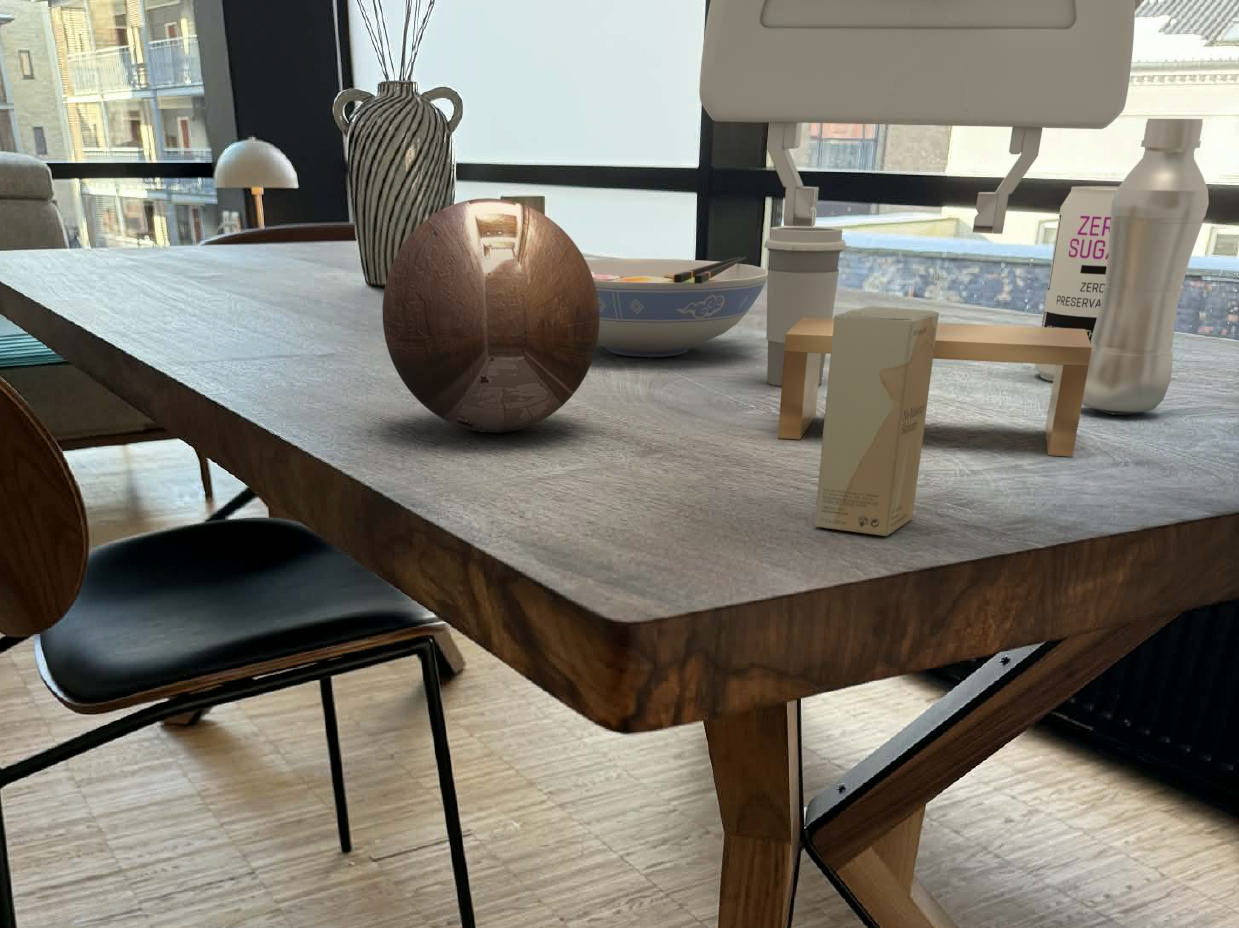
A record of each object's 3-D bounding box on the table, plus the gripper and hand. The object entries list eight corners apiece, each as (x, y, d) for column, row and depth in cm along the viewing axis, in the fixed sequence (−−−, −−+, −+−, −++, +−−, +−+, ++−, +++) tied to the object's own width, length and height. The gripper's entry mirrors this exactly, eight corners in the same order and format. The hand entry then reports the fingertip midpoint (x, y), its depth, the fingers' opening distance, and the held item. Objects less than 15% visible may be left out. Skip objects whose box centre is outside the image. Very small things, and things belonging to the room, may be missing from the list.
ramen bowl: (576, 329, 144) (576, 245, 140) (788, 340, 138) (794, 252, 134) (489, 364, 123) (487, 266, 119) (734, 379, 117) (740, 277, 113)
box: (886, 539, 73) (912, 319, 67) (810, 528, 75) (830, 313, 69) (915, 517, 77) (941, 308, 71) (843, 508, 79) (863, 303, 73)
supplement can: (1107, 370, 123) (1142, 186, 115) (1146, 386, 115) (1185, 190, 108) (1020, 371, 122) (1049, 185, 115) (1053, 386, 115) (1086, 190, 108)
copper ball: (431, 461, 88) (419, 206, 81) (363, 419, 100) (346, 194, 93) (634, 441, 94) (640, 202, 87) (546, 404, 106) (545, 191, 99)
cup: (820, 392, 112) (834, 232, 106) (743, 385, 114) (753, 229, 108) (843, 379, 117) (857, 227, 112) (770, 373, 120) (780, 224, 114)
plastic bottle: (1073, 402, 108) (1124, 118, 99) (1162, 408, 106) (1223, 119, 97) (1070, 417, 103) (1123, 118, 93) (1164, 423, 101) (1229, 119, 91)
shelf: (1067, 431, 99) (1085, 328, 95) (1072, 456, 91) (1092, 346, 88) (794, 415, 103) (802, 317, 100) (777, 438, 96) (785, 333, 92)
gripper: (1165, -100, 62) (1103, 232, 69) (726, -92, 67) (709, 218, 73) (1179, -120, 57) (1110, 242, 63) (701, -111, 61) (685, 225, 68)
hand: (892, 229), depth 68 cm, fingers open, 8 cm apart
